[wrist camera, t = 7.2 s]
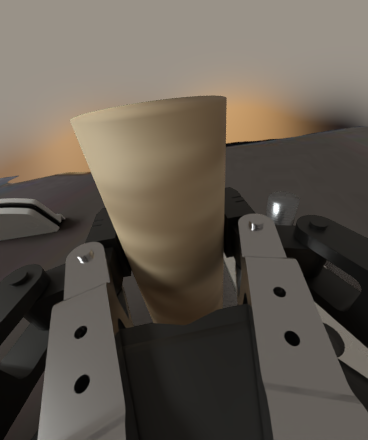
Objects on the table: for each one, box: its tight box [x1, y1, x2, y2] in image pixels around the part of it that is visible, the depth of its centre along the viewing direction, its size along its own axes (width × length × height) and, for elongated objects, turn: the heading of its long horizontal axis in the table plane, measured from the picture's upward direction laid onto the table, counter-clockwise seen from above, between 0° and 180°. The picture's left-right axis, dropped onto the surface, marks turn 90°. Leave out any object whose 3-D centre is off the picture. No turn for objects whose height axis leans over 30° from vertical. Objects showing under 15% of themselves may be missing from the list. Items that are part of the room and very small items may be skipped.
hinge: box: [0, 198, 65, 241], centre depth 39 cm, size 17×5×10 cm, turn 96°
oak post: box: [70, 96, 226, 325], centre depth 9 cm, size 4×4×12 cm
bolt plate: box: [223, 191, 368, 378], centre depth 20 cm, size 12×18×11 cm, turn 8°
